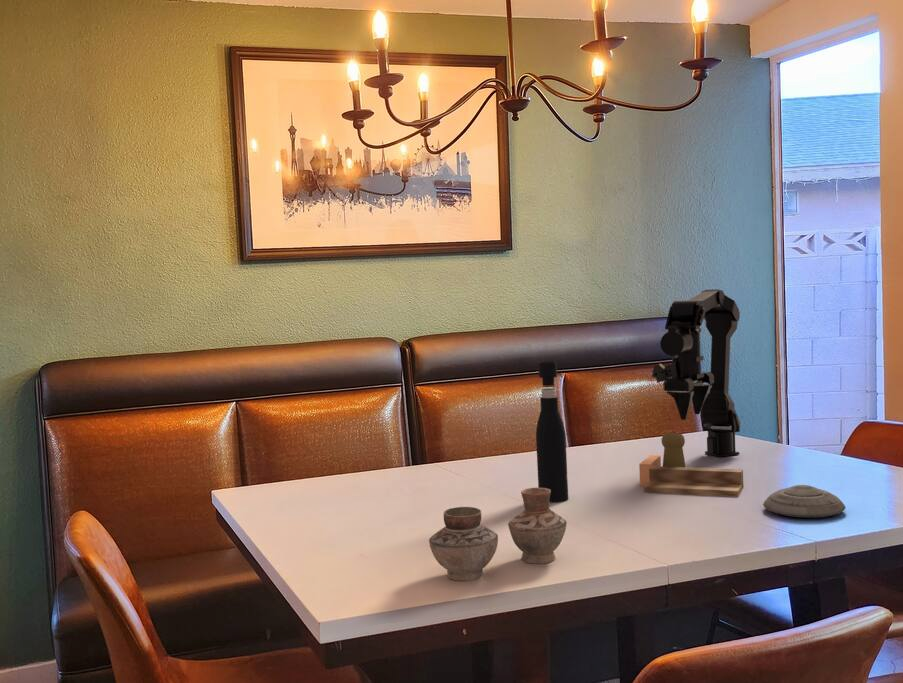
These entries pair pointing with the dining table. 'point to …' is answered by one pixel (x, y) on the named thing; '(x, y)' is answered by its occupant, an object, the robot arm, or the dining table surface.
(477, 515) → the pottery
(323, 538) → the dining table surface
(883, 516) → the dining table surface
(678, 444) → the cork
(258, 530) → the dining table surface
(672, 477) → the guide rail
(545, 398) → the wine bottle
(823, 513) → the flying saucer
